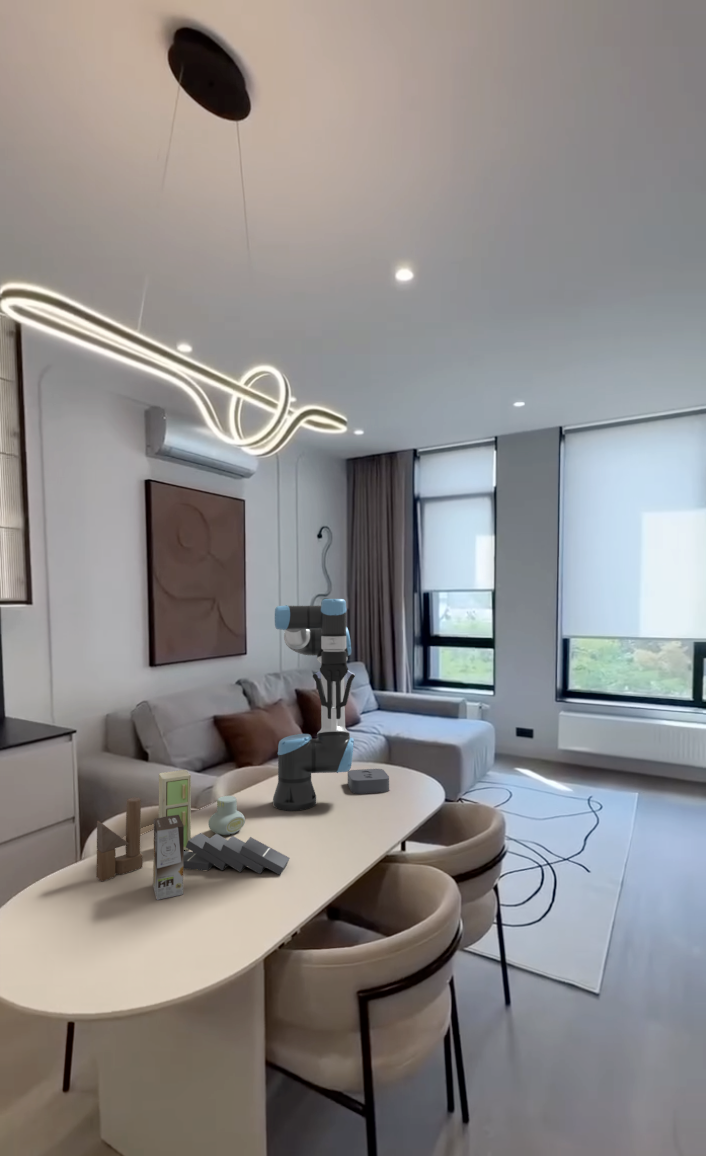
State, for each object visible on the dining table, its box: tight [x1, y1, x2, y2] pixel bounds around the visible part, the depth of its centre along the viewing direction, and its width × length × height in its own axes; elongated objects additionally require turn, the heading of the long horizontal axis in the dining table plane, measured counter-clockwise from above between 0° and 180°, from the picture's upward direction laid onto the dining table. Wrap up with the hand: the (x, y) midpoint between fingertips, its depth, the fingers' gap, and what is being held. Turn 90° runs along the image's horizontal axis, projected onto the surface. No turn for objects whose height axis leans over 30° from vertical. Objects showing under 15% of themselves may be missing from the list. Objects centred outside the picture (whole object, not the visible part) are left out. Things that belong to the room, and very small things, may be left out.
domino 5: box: [240, 836, 291, 876], centre depth 150 cm, size 2×6×12 cm
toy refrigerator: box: [158, 769, 192, 851], centre depth 163 cm, size 8×7×21 cm
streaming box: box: [347, 768, 390, 795], centre depth 218 cm, size 14×14×5 cm
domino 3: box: [203, 833, 247, 873], centre depth 151 cm, size 2×6×12 cm
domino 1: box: [183, 850, 214, 871], centre depth 153 cm, size 2×6×12 cm
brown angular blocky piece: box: [95, 796, 143, 882], centre depth 148 cm, size 4×11×18 cm, turn 135°
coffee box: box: [152, 815, 184, 901], centre depth 139 cm, size 9×6×16 cm
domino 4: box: [220, 835, 266, 875], centre depth 150 cm, size 2×6×12 cm
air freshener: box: [207, 795, 246, 836], centre depth 175 cm, size 11×8×10 cm
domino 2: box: [186, 832, 229, 871], centre depth 153 cm, size 2×6×12 cm
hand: (334, 729), depth 169 cm, fingers closed
